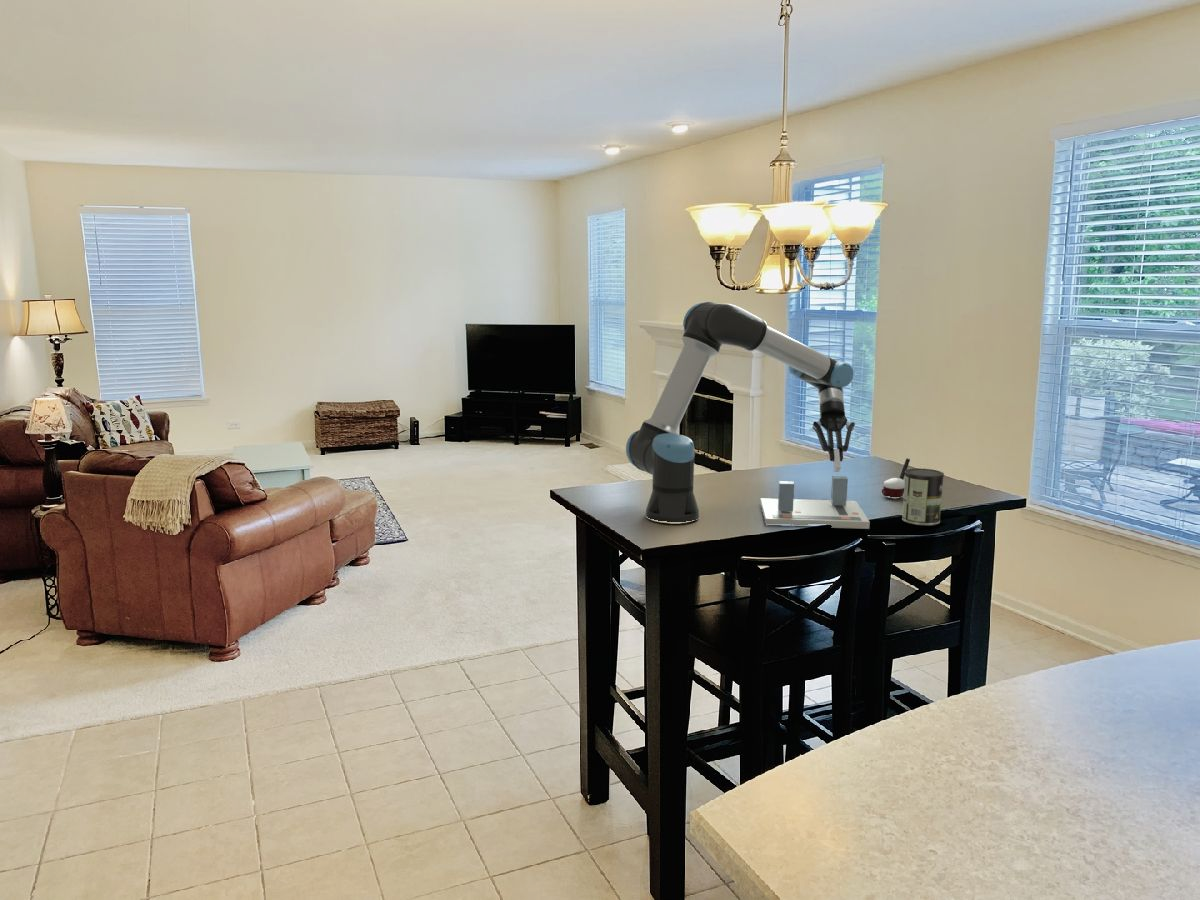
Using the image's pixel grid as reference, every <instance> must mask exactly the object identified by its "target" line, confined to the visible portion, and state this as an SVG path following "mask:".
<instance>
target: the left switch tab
mask: <svg viewBox="0 0 1200 900" xmlns="http://www.w3.org/2000/svg"><path fill="white" fill-rule="evenodd" d="M777 491H778V495H777V499H778V511H793V500H794V499H795V498H794V497H795V483H794V481H790V480H787V481H786V480H784V481H781V480H779V481H778V490H777Z"/></svg>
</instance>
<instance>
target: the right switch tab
mask: <svg viewBox="0 0 1200 900" xmlns="http://www.w3.org/2000/svg"><path fill="white" fill-rule="evenodd" d="M848 479H849V478H848V477H847V476H845V475H844V476H843V475H841V476H840V475H839V476H838V475H836V476H835V475H832V476H831V489H830V490H831V493H830V500H831V504H832V505H842V506H846V501H848V500H847V499H848V498H847V497H848V481H849V480H848Z"/></svg>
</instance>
